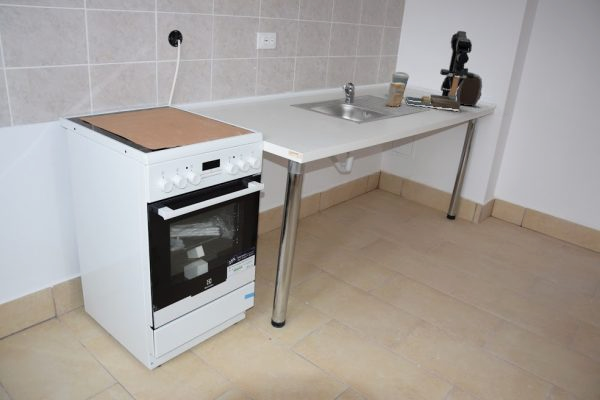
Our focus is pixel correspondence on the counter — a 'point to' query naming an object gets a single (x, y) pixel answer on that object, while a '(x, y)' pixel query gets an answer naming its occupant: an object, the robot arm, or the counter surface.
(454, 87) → the brown and grey block
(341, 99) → the counter surface
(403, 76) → the disposable coffee cup
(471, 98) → the dark brown rounded block
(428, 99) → the brass block
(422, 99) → the brass block
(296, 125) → the counter surface
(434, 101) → the railed tan board
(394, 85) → the supplement box
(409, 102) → the slate tray
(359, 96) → the counter surface
